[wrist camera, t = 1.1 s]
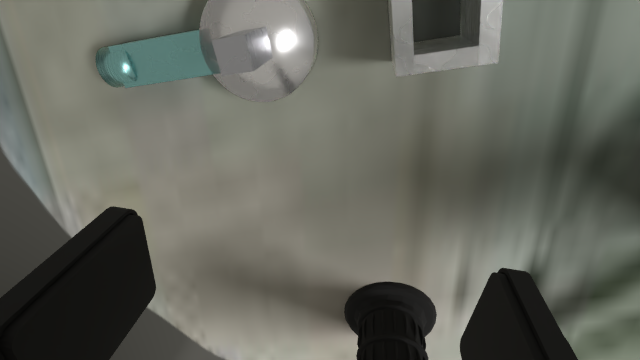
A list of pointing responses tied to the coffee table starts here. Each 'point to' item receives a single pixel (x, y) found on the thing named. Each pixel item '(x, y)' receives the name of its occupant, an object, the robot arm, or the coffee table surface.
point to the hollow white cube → (446, 39)
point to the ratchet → (225, 50)
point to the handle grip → (390, 321)
